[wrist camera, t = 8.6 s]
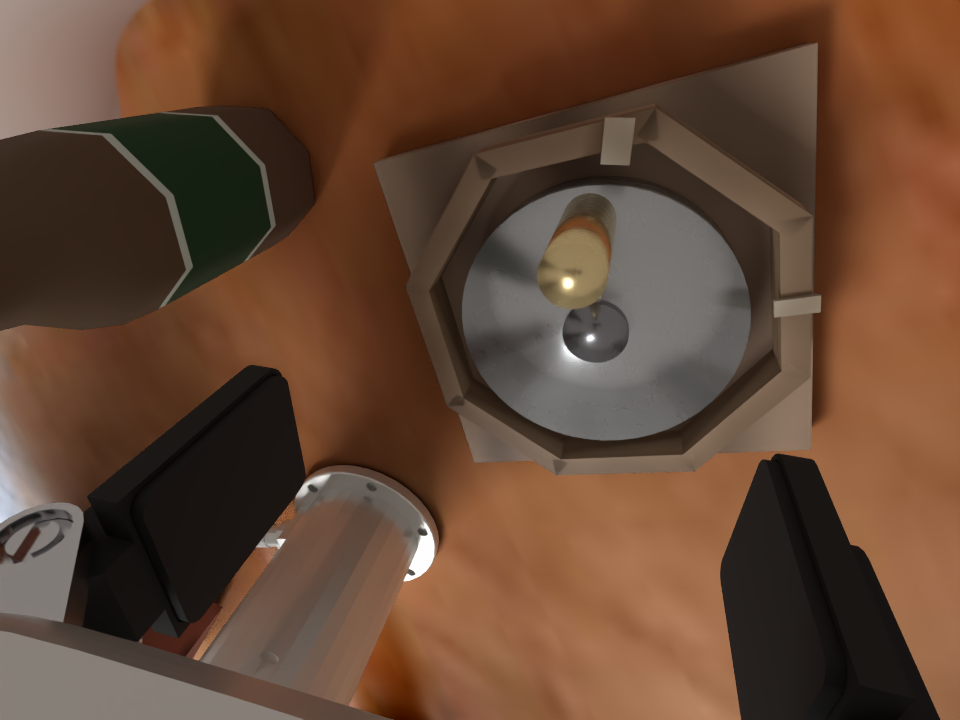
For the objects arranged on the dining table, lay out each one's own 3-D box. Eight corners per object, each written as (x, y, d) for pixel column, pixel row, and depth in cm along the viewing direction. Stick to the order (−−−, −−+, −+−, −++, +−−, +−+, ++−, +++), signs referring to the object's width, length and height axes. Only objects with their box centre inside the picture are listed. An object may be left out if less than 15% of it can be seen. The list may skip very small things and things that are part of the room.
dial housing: (480, 448, 38) (464, 487, 34) (384, 157, 29) (351, 172, 26) (804, 432, 31) (823, 479, 27) (808, 42, 22) (837, 42, 19)
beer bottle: (246, 251, 34) (-304, 543, 14) (177, 128, 31) (-652, 281, 11) (343, 216, 31) (-183, 523, 11) (277, 75, 28) (-613, 157, 8)
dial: (734, 422, 29) (765, 551, 22) (491, 416, 34) (448, 524, 26) (756, 158, 23) (810, 214, 15) (451, 192, 27) (377, 250, 20)
